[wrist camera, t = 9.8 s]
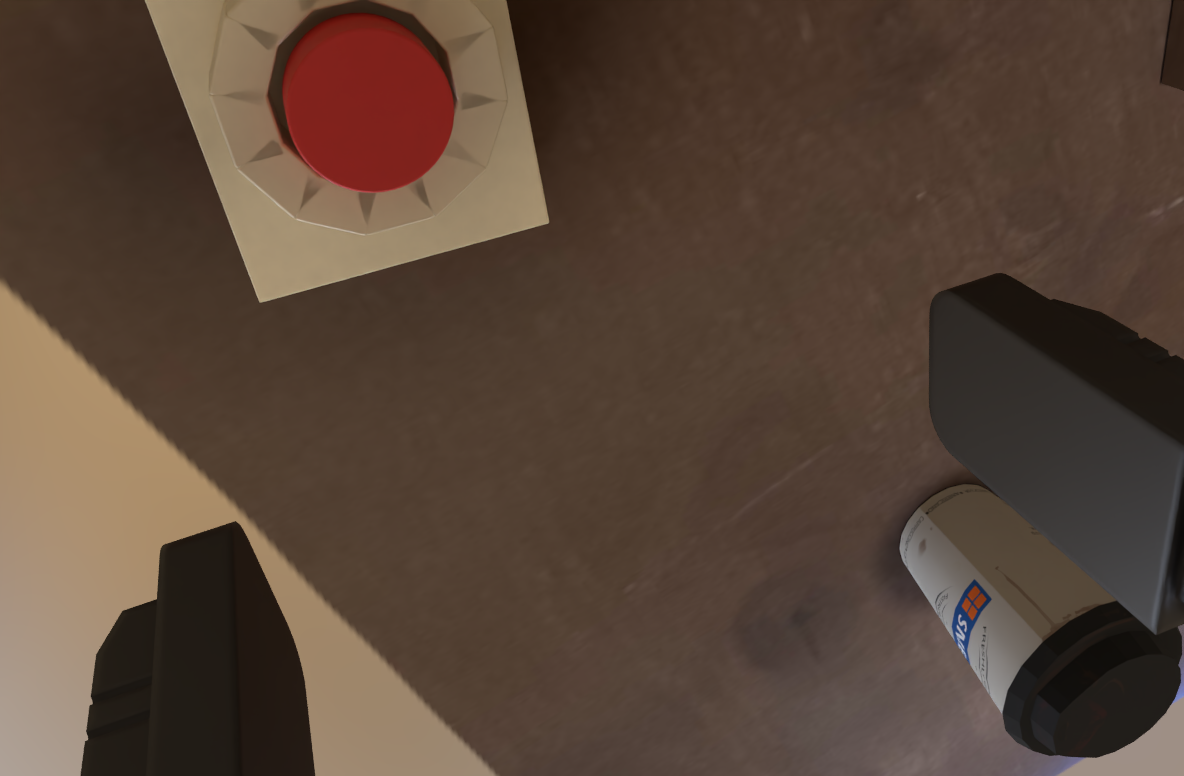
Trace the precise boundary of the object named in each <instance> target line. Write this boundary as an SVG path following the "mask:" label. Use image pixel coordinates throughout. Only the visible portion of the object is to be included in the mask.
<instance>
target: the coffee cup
mask: <svg viewBox="0 0 1184 776" xmlns="http://www.w3.org/2000/svg"><path fill="white" fill-rule="evenodd" d="M899 549H900V553H901V557H902V561H903V562H904V564H905V565H906V567H907V568H908V570H909V571H910V573H911V574H912V576H913V577H914V579H915V581H916V582H917V584H918V585H919V587H920V588H921V590H922V591H923V593H924V594H925V596H926V597H927V599H928V601H929V602H930V604H931V605H932V607H933V608H934V610H935V611H936V613H937V614H938V616H939V617H940V619H941V621H942V622H943V624H944V625H945V627H946V628H947V630H948V631H949V633H950V634H951V636H952V638H953V639H954V641H955V642H956V644H957V645H958V647H959V648H960V650H961V651H962V653H963V654H964V656H965V658H966V659H967V661H968V662H969V664H970V665H971V667H972V668H973V670H974V671H975V673H976V674H977V676H978V678H979V679H980V681H981V682H982V684H983V685H984V687H985V688H986V690H987V691H988V693H989V694H990V696H991V698H992V699H993V701H994V702H995V704H996V705H997V707H998V708H999V710H1000V711H1001V713H1002V714H1003V719H1004V724H1005V729H1006V731H1007V732H1008V733H1009V734H1010V736H1011V737H1012V738H1013V739H1014V740H1015V741H1016V742H1017V743H1019V744H1021V745H1023V746H1025V747H1027V748H1029V749H1031V750H1032V751H1035V752H1039V753H1042V754H1045V755H1049V756H1053V755H1061V756H1068V757H1092V758H1094V757H1095V758H1097V757H1100V756H1103V755H1106V754H1109V753H1113V752H1115V751H1117V750H1119V749H1121V748H1123V747H1125V746H1126V745H1128V744H1130V743H1132V742H1134V741H1135V740H1136V739H1138V738H1139V737H1140V736H1142V735H1143V734H1144V733H1146V732H1147V731H1148V730H1150V729H1151V728H1152V727H1153V726H1154V725H1155V724H1156V723H1157V721H1158V720H1159V719H1160V718H1161V717H1162V716H1163V715H1164V714H1165V713H1166V711H1167V710H1168V708H1169V707H1170V705H1171V704H1172V702H1173V700H1174V699H1175V697H1176V694H1177V691H1178V689H1179V686H1180V683H1181V671H1180V668H1179V666H1178V664H1179V661H1180V658H1181V656H1182V636H1181V634H1180V631H1179V629H1178V627H1175V628H1172V629H1170V630H1168V631H1165V632H1163V633H1160V634H1158V635H1155V634H1154V633H1153V632H1152V631H1151V630H1149V629H1148V628H1147V627H1146V626H1145V625H1144V624H1143V623H1142V622H1140V621H1139V620H1138V619H1137V618H1136V617H1135V616H1134V615H1132V614H1131V613H1130V612H1129V611H1128V610H1127V609H1126V608H1125V607H1123V606H1122V605H1121V604H1120V603H1119V602H1118V601H1117V600H1116V599H1114V598H1113V597H1112V596H1111V595H1110V594H1109V593H1108V592H1106V591H1105V590H1104V589H1103V588H1102V587H1101V586H1100V585H1099V584H1097V583H1096V582H1095V581H1094V580H1093V579H1092V578H1091V577H1089V576H1088V575H1087V574H1086V573H1085V572H1084V571H1083V570H1082V569H1080V568H1079V567H1078V566H1077V565H1076V564H1075V563H1074V562H1072V561H1071V560H1070V559H1069V558H1068V557H1067V556H1066V555H1065V554H1063V553H1062V552H1061V551H1060V550H1059V549H1058V548H1057V547H1055V546H1054V545H1053V544H1052V543H1051V542H1050V541H1049V540H1048V539H1046V538H1045V537H1044V536H1043V535H1042V534H1041V533H1040V532H1038V531H1037V530H1036V529H1035V528H1034V527H1033V526H1032V525H1031V524H1029V523H1028V522H1027V521H1026V520H1025V519H1024V518H1023V517H1021V516H1020V515H1019V514H1018V513H1017V512H1016V511H1015V510H1014V509H1012V508H1011V507H1010V506H1009V505H1008V504H1007V503H1006V502H1004V501H1003V500H1002V499H1000V498H999V497H997V496H996V495H994V494H993V493H992V492H990V491H989V490H987V489H985V488H983V487H981V486H979V485H970V484H962V485H958V486H954V487H950V488H947V489H945V490H943V491H941V492H939V493H938V494H936V495H934V496H932V497H931V498H930V499H928V500H927V501H926V502H925V503H924V504H922V505H921V506H920V507H919V508H918V509H917V510H916V512H915V513H914V514H913V515H912V517H911V518H910V519H909V520H908V522H907V524H906V526H905V528H904V531H903V533H902V535H901V541H900V548H899Z"/></svg>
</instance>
